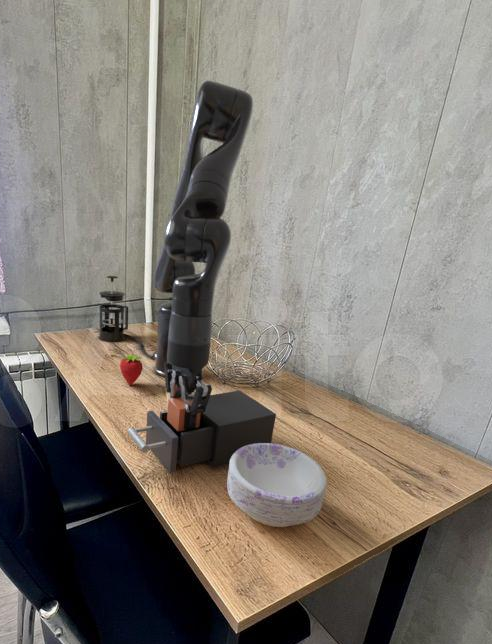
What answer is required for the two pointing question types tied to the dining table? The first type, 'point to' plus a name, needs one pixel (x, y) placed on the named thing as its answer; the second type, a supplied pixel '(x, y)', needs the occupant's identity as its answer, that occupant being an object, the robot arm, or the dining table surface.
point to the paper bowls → (276, 484)
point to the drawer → (175, 441)
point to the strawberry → (131, 368)
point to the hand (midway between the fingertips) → (182, 422)
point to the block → (178, 413)
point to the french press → (109, 330)
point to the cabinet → (237, 424)
